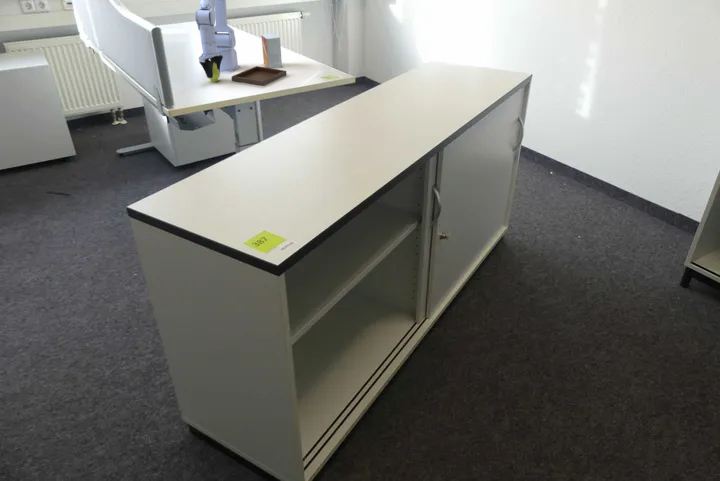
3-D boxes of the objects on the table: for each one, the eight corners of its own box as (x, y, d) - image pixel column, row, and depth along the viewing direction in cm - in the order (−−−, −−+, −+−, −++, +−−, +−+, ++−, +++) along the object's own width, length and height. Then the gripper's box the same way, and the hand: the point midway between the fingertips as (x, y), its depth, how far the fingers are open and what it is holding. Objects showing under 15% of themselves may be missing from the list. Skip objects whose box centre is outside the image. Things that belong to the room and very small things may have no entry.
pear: (211, 78, 233) (208, 56, 228) (223, 79, 231) (220, 57, 226) (205, 81, 228) (201, 59, 223) (216, 83, 227) (213, 60, 222)
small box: (263, 64, 253) (261, 34, 246) (276, 62, 255) (274, 33, 248) (268, 69, 247) (266, 38, 240) (282, 67, 249) (280, 37, 242)
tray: (256, 71, 244) (256, 66, 243) (286, 76, 238) (286, 70, 237) (232, 81, 231) (231, 76, 229) (262, 87, 225) (262, 81, 224)
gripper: (208, 46, 214) (213, 81, 222) (226, 38, 226) (230, 71, 234) (192, 45, 216) (197, 79, 224) (211, 37, 228) (215, 70, 235)
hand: (213, 75), depth 229 cm, fingers closed on pear, 5 cm apart
